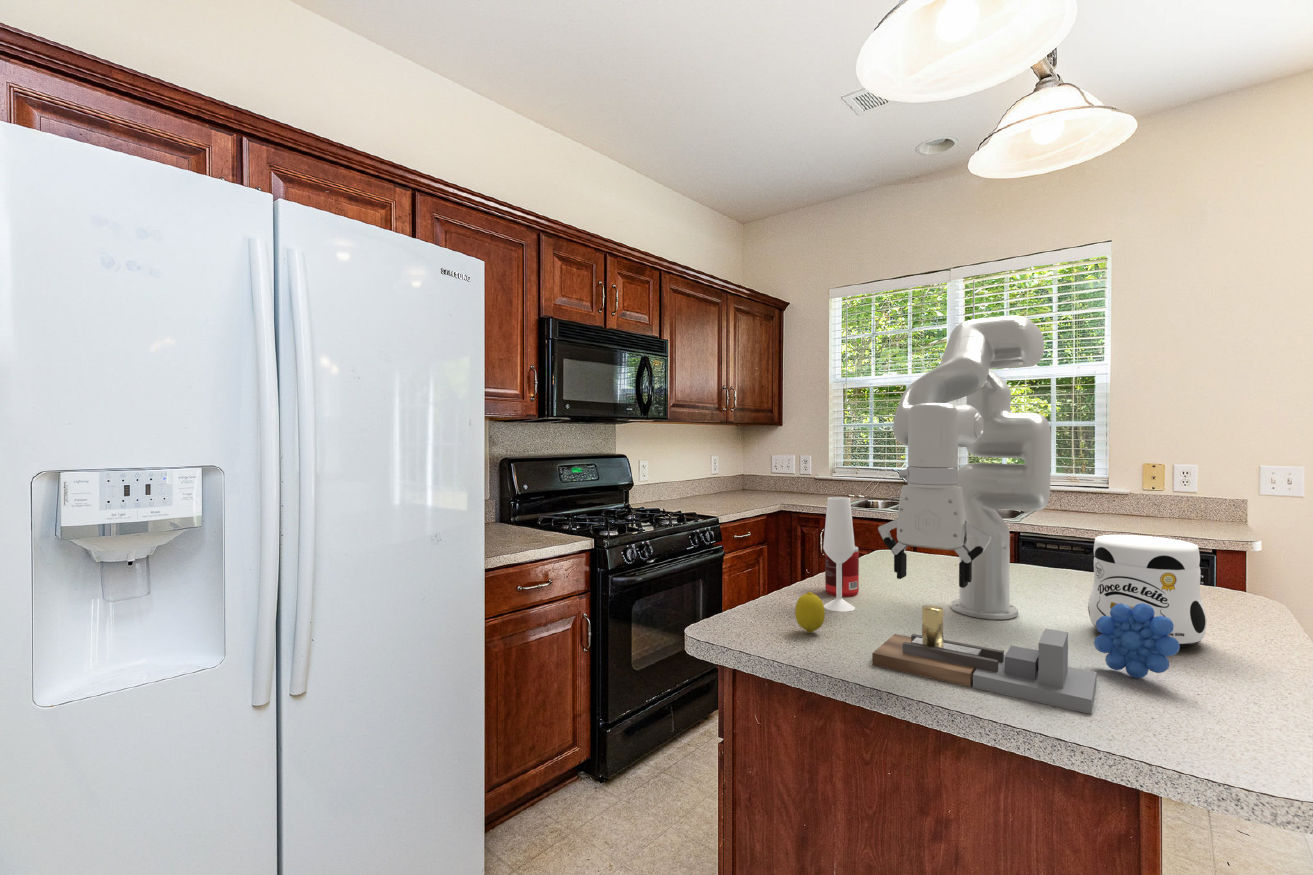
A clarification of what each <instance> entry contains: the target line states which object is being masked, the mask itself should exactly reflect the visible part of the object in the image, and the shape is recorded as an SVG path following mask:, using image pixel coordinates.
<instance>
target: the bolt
mask: <svg viewBox="0 0 1313 875" xmlns="http://www.w3.org/2000/svg"><path fill="white" fill-rule="evenodd" d="M921 611H922V612H921V613H922V614H921V617H922V618H921V619H922V626H921V627H922V628H921V632H922V633H921V634H922V638H918V637H916V638H915V639H914V640H913V641H912V642H911V643H913V644H918V645H924V646H929V647H934V648H939V649H944V650H949V651H954V652H959V653H964V654H969V655H975V656H980V657H981V649H976V648H970V647H965V646H960V645H955V644H949V643H944V642H943V640H944V608H943V607H941V606H938V605H930V604H929V605H928V604H927V605H923V606H922V608H921Z"/></svg>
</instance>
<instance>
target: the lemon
mask: <svg viewBox="0 0 1313 875" xmlns="http://www.w3.org/2000/svg"><path fill="white" fill-rule="evenodd" d="M824 605H825V604H824V602H823V601H822V599H821V598H820V597H819V596H818V595H817V594H814V593H813V592H812V591H807V593H804V594H802V595H800V597H798V599H797V601H796V603H795V608H794V609H795V610H794V614H795V620H796V623H797V624H798V625H799V627H800V628H801V629H803V630H805V631H806V632H807V633H808V634H812V633H814V631H816V630H818V629H820V628H821V627H822V625H823V624H824V622H825V616H826V615H825V613H826V611H825V610H826V609H825V608H824Z"/></svg>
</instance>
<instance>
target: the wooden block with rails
mask: <svg viewBox="0 0 1313 875" xmlns="http://www.w3.org/2000/svg"><path fill="white" fill-rule="evenodd" d="M916 637H918V638H922V635H921V634H917V633H912V634H911V635H910V636H907V635H902V634H897V633H894V634H893V635H892V636H890V637H889V638H888V639H886V640H885V641H884V643H882V644H881V645H880V646H879V647H878V648H876V650H873V652H872V653H871V654H872V658H871V659H872V660H871V661H872V666H874V667H875V666H876V667H880V668H884V669H888V670H893V671H897V672H902V673H905V674H906V673H907V674H911V675H915V676H920V677H925V678H928V679H934V680H937V681H942V682H946V683H949V684H950V683H951V684H955V685H959V686H964V687H968V688H970V687H971V686H973V674H974V672H975V671H976V669H977V668H978V669H982V670H987V671H992V672H998V662H1002V663H1003V662H1004V655H1005V651H1004V650H1001V649H996V648H991V647H985V646H980V645H979V646H978V645H975V644H970V643H969V644H968V643H964V642H959V641H955V640H954V641H952V640H949V639H943V642H944V643H949V644H955V645H960V646H965V647H970V648H976V649H981V657H980V656H975V655H969V654H964V653H959V652H954V651H949V650H944V649H939V648H934V647H929V646H924V645H918V644H913V643H911V642H912V641H913V640H914V639H915V638H916Z"/></svg>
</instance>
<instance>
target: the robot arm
mask: <svg viewBox="0 0 1313 875" xmlns="http://www.w3.org/2000/svg"><path fill="white" fill-rule="evenodd" d="M1044 351H1045V340H1044V335H1043V333H1042V331H1041V329H1040V328H1039V326H1037V325H1036V324H1035V323H1034V322H1033V321H1032V320H1030V319H1029V318H1027V317H1025V316H1021V315H1007V316H1006V315H1005V316H995V317H985V318H976V319H970V320H966V321H963V322H961V323H959V324H958V325H956V326H955V327H954V328H953V330H952V331H951V333H950V336H949V338H948V341H947V344H946V346H945V349H944V353H943V355H942V358H941V361H940V364H939V365H938V366H936V367H935V368H933V369H932V370H929V371H927V372H926V373H925V374H923V375H922V376H920V377H919V378H918V379H916V380H914V382H912V383H910V385H908V387H907V388H906V389H905V390H904V392H903V393H902V395H901V398H900V400H899V403H898V405H897V408H896V411H895V414H894V418H893V423H892V424H893V425H892V428H893V434H894V437H895V439H896V440H897V442H898V443H900V444H901V445H903V446H905V447H908V448H907V466H906V469H900V470H899V472H898V476H899V477H898V478H900V479H901V478H902V479H905V480H906V483H907V484H905V485H904V484H903V485H902V487H901V491H900V497H899V502H898V511H897V518H896V519H894V520H891V521H889V522H887V523H884V524H882V525H879V526H878V527H877V530H878V533H879V534H880V537H881V538H882V541H883V543H884V544H885V546H886V547H887V548H888V549H889V550H890V551H891V554H892V555H893V571H894V573H896V579H898V580H901V579H903V578H905V577H907V567H908V566H907V562H908V561H907V557H908V555H907V554H906V552H905V550H907V547H908V546H909V547H914V548H915V547H916V548H924V549H933V550H934V549H935V550H942V551H943V550H944V551H955V553H956V554H957V555H958V562H959V564H958V587H959V589H958V590H959V591H958V592H959V593H958V595H959V596H958V597H959V598H956V599H954V600H952V601H951V605H950V606H951V609H952V610H954V611H955V612H957V613H959V614H962V615H964V616H969V617H973V618H978V619H986V620H1009V619H1010V620H1011V619H1014V618H1017V617H1018V616H1019V609H1018V608H1017V607H1016V606H1014V605H1012V604H1011V603H1010V601H1011V600H1010V598H1011V597H1010V589H1011V588H1010V586H1011V585H1010V583H1011V582H1010V577H1011V575H1010V566H1011V565H1010V562H1011V560H1010V558H1011V557H1010V552H1011V551H1010V548H1011V547H1010V546H1011V545H1010V540H1011V538H1010V537H1011V536H1010V529H1009V527H1008V524H1007V522H1005V520H1004V519H1003V518H1002V516H1001V515H1000V514H999V513H998V512H997V510H1007V511H1022V512H1023V511H1025V512H1038V511H1041V510H1042V511H1043V510H1044V509H1045V508H1046V507H1047V506H1048V504H1049V501H1050V495H1051V474H1052V472H1051V466H1052V464H1051V462H1052V432H1051V426H1050V423H1049V421H1048V419H1047V418H1046V417H1045V415H1042V414H1041V413H1037V412H1011V403H1012V402H1011V399H1012V392H1011V389H1010V387H1009V386H1008V384H1007V383H1006V382H1005V381H1004V380H1003V378H1001V377H1000V375H998V374H997V373H996V372H995V371H993V370H999V369H1015V368H1018V369H1019V368H1031V367H1034V366H1037V364H1038V363H1040V361H1041V360H1042V357H1043V355H1044ZM963 398H966V403H965V404H964V403H950V402H953V401H957V400H959V399H963ZM959 448H965V450H966V452H968V453H969V454H970V455H972V456H976V457H980V458H997V459H998V458H1002V459H1003V458H1004V459H1021V460H1022V461H1024V463H1023V464H1020V463H998V462H997V463H996V462H995V463H993V462H974V463H968V464H965V465H962V466H961V467H960V468H959V464H958V463H959V456H958V454H959V453H958V452H959V451H958V450H959ZM894 529H896V539H894V538H893V537H892V535H891V532H890V531H891V530H894ZM896 540H897V541H898V542H897V541H896Z"/></svg>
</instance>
